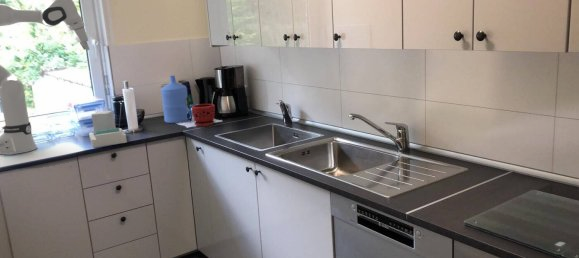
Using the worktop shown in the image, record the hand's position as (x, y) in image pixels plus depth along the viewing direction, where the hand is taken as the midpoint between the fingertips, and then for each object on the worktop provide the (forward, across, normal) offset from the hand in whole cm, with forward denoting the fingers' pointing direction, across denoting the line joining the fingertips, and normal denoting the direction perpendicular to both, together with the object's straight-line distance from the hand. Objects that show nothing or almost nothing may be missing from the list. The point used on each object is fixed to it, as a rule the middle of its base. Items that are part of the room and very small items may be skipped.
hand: (86, 49), depth 285 cm
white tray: (+47, +14, -12) cm, 51 cm away
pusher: (+47, +19, -12) cm, 52 cm away
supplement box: (+48, +7, -12) cm, 50 cm away
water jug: (+61, -11, +32) cm, 70 cm away
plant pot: (+63, +14, +41) cm, 77 cm away
